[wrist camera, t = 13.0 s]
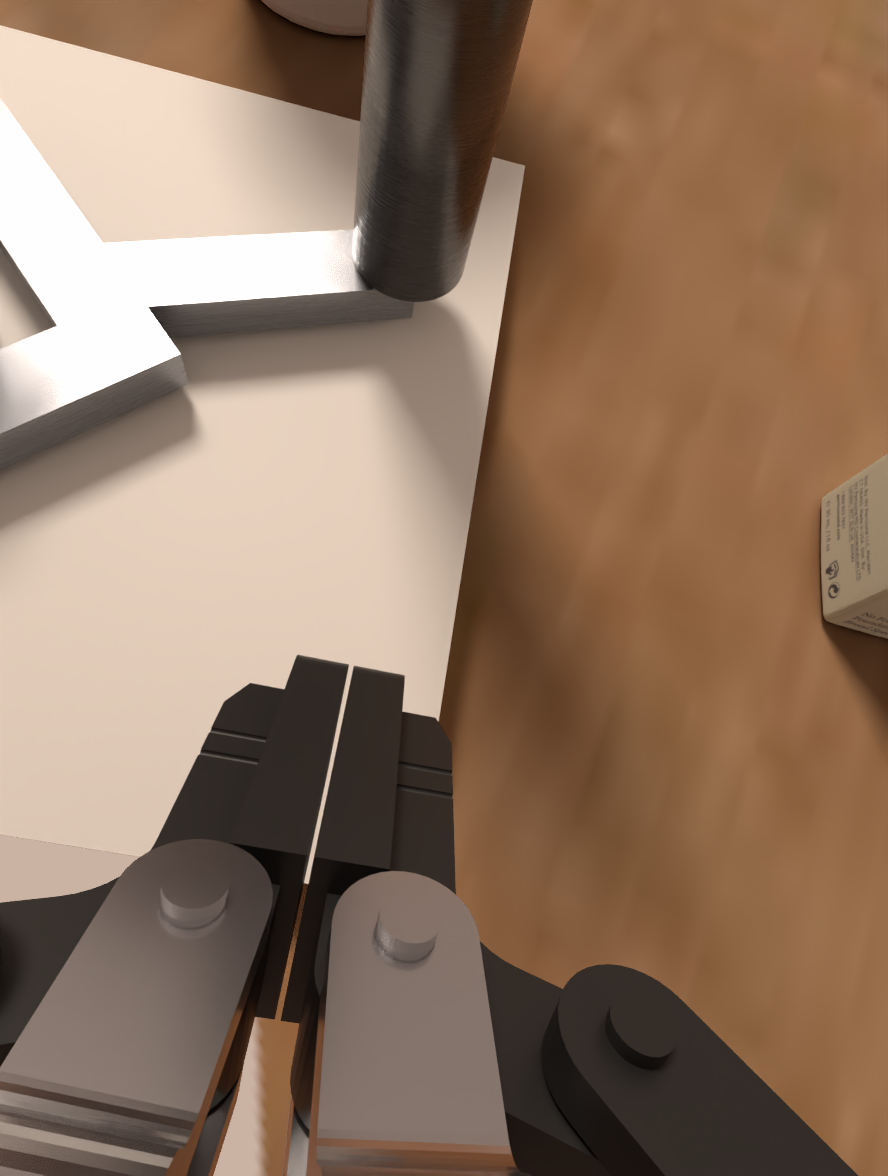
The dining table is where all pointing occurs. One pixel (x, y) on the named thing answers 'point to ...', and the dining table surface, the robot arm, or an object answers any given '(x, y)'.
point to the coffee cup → (324, 14)
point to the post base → (224, 459)
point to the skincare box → (857, 551)
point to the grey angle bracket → (260, 262)
